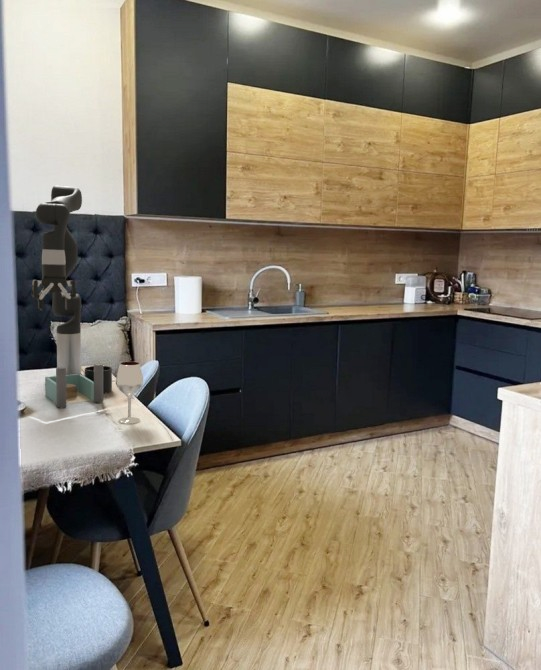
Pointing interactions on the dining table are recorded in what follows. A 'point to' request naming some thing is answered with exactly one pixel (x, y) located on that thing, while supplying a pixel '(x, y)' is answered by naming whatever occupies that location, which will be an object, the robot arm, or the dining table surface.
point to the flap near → (61, 387)
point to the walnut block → (71, 391)
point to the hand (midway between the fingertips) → (54, 309)
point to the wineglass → (129, 385)
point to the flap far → (97, 384)
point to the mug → (106, 377)
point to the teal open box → (75, 379)
